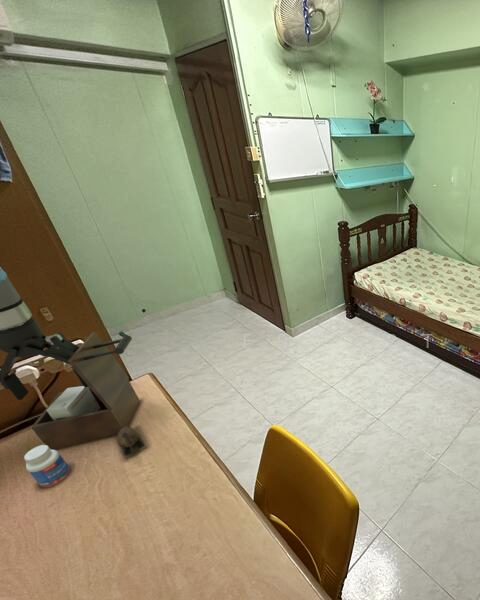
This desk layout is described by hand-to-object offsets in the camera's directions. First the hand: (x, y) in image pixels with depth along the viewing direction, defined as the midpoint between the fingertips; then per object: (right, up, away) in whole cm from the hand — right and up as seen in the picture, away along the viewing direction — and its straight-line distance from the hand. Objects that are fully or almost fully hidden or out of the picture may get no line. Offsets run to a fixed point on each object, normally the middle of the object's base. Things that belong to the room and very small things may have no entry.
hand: (57, 389), depth 83 cm
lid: (+10, +5, +1) cm, 11 cm away
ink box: (+1, -13, +7) cm, 15 cm away
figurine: (+19, -17, +2) cm, 25 cm away
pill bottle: (+6, -21, -5) cm, 22 cm away
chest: (+3, -13, +8) cm, 16 cm away
